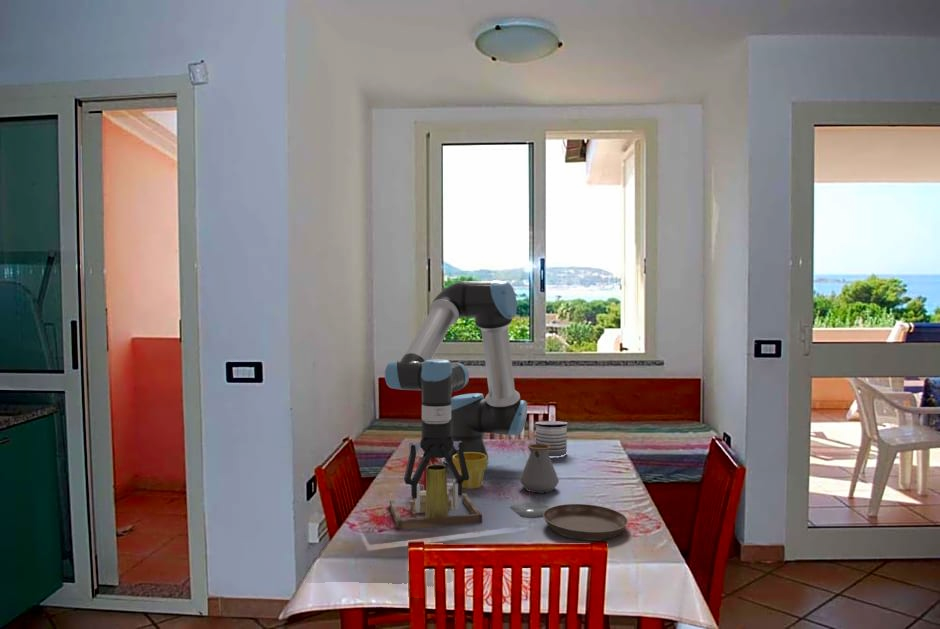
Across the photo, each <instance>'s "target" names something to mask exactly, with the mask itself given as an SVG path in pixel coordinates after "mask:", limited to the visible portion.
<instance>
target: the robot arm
mask: <svg viewBox="0 0 940 629" xmlns="http://www.w3.org/2000/svg"><path fill="white" fill-rule="evenodd" d="M517 302H518V301H517V295H516V293H515V289H514V287H513V286H512V285H511V283H510V282H508V281H504V280H496V279H494V280H461V281H457V282H455V283H453V284H451V285H448V286H447V287H446V288H444V289H443V290H442V291H440V293H438V294H437V295H436V297H434V299H433V300H432V302H431V304H430V306H429V308H428V309H429V313H428V315H427V317H426V318H425V320H424V321H423V323H422V325H421V326H420V328H419V330H418V331H417V333H416V335H415V337H414V338H413V340H412V341H411V343H410V345H409V346H408V348H407V350H406V351H405V353H404V355H403V356H402V358H401V359H400V361H398V360H396V361H390V362H388V363H387V364H386V366H385V370H384V380H385V383H386V385H387V386H388V388H390V389H394V390H401V391H403V390H404V391H421V420H422V422H421V440H420V442H418V443H413V442H411V443H409V445H408V446H409V455H408V460H407V463H406V464H407V465H406V469H405V472H404V478H403V481H404V483H405V484H406V485H410V486H411V488H410V489H411V491H410V492H411V494H410V496H411V497H412V500H415V509H416V511H417V512H420V486H419V484H418V482H419V480H420V478H421V476H422V474H423V471H424V469H425V467H426V465H427V463H428V462H429V460H430V458H431V459H435V458H440V459H443V460H444V461H445V462H446V463H447V464H446V463H445V462H444V461H443V462H444V463H445V464H446V465H448V468H449V469H450V470H451V471H450V472H451V473H452V475H453V477H454V478H455V480H453V481H452V507H453V508H454V509H453V510H459V496H462V494H463V488H462V483H463V481H465V480H468V479H469V474H468V470H467V466H466V462H465V457H464V452H477V453H482V454H485V455H486V456H487V461H488V462H489V455H488V454H489V453H488V451H487V447H486V444H485V441H484V434H492V435H493V434H494V435H506V436H519V435H521V433H522V432H523V431H524V428H525V426H526V425H525V424H526V421H527V417H528V416H527V415H528V403H527V401H526V400H523V399H522V400H521V395H520V392H519V391H517V390H516V389H515V388H516V387H515V377H514V372H513V361H512V352H511V342H510V335H509V334H510V332H509V326H510V324H512V322H513V319H514V318H515V316H516V314H517V309H518V307H517V305H518V304H517ZM464 318H469V319H474V321H475V327H477V328H479V329H480V332H481V337H482V338H481V339H482V347H483V356H484V362H485V363H484V364H485V371H486V378H487V387H488V388H487V389H488V393H487V394H486V396H485V397H484V394H483V393H480V392H479V393H478V392H476V393H464V394H459V395H455V396H453V397H452V394H453V393H454V392H458V391H460V390H462V389H463V388H464V387H466V385H468V383H469V379H470V373H469V370H468V368H467V367H466V366H465V365H464V364H463V363H461V362H456V361H455V362H454V361H452V362H451V361H450V360H449V359H444V358H443V359H442V358H441V359H440V358H439V359H438V358H434V357H435V355H436V353H437V351H438V349H439V347H440V346H441V344H442V343H443V340H444V339H445V337H446V335H447V333H448V332H449V329H450V328H451V326H452V325H454V324H456V323H457V322H458V321H459V319H464ZM433 358H434V359H433ZM420 449H421V450H422V451H423V453H424V454H423V456H422V459H421V461H420V464H419V466H418V468H417V467H416V470H415V472H414V473H413V471H414V466H415V461H416V457H417V453H419V450H420ZM455 454H458V459H459V463H460V467H461V472H462V475H459V473H458V471H457V469H456V467H455V465H454V463H453V461H452V457H453V455H455ZM412 474H413V476H412Z"/></svg>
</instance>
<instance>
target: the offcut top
mask: <svg viewBox="0 0 940 629" xmlns="http://www.w3.org/2000/svg"><path fill="white" fill-rule="evenodd" d="M449 499H450V492H449V490H448V489H447V501H448V502H449ZM420 503H426V491H420Z"/></svg>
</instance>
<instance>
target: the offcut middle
mask: <svg viewBox="0 0 940 629" xmlns="http://www.w3.org/2000/svg"><path fill="white" fill-rule="evenodd" d="M409 504H410V505H409V507H410V508H411V509H412V510H413V511H415V512H416V514H421V513H420V512H424V513H425V506H426V503H420V512H417V511H416V509H415V499H411V500H409ZM452 507H453V499H450V498H449V502H448V508H452Z"/></svg>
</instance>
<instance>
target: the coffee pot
mask: <svg viewBox="0 0 940 629" xmlns="http://www.w3.org/2000/svg"><path fill="white" fill-rule="evenodd" d="M527 448H528V451H529V452H530V454H529V456H528V459H527V461H526V464H525V466H524V468H523V471H522V473H521V475H520V477H519V481H520V483H521V486H522V487H524V488H525V489H526V488H527V489H528V490H530V491H533V492H532V493H535V492H538V494H543V493H544V492H546V493H550V492H552V491H553V489H555V488H556V487H557V486H558V484H559V481H560V480H559V477H558V474H557V471H556V470H555V467H554V465H553V463H552V460H551V458H550V457H549V455H548V451H549V449H550V446H549V445H545V444H536V443H533V444H529V445H527ZM527 489H526V490H527ZM528 490H527V491H528ZM551 490H552V491H551ZM530 491H529V492H530ZM549 491H550V492H549Z"/></svg>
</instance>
